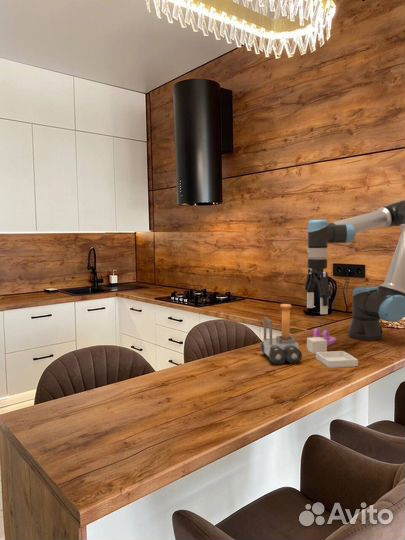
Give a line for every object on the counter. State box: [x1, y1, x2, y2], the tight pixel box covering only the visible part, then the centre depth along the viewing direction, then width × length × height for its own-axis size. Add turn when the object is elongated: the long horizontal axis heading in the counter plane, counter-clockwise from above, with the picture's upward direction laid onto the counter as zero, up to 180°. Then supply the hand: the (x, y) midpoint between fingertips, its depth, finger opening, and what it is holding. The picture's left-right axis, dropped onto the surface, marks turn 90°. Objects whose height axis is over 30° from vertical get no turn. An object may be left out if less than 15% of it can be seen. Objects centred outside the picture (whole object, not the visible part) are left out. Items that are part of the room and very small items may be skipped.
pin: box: [279, 303, 292, 339], centre depth 158 cm, size 4×4×14 cm
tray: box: [315, 350, 359, 369], centre depth 154 cm, size 11×11×2 cm
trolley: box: [260, 316, 303, 366], centre depth 158 cm, size 12×14×16 cm
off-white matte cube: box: [306, 336, 328, 354], centre depth 169 cm, size 6×6×5 cm
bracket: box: [312, 328, 337, 347], centre depth 181 cm, size 13×6×7 cm, turn 139°
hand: (316, 310), depth 168 cm, fingers open, 13 cm apart
